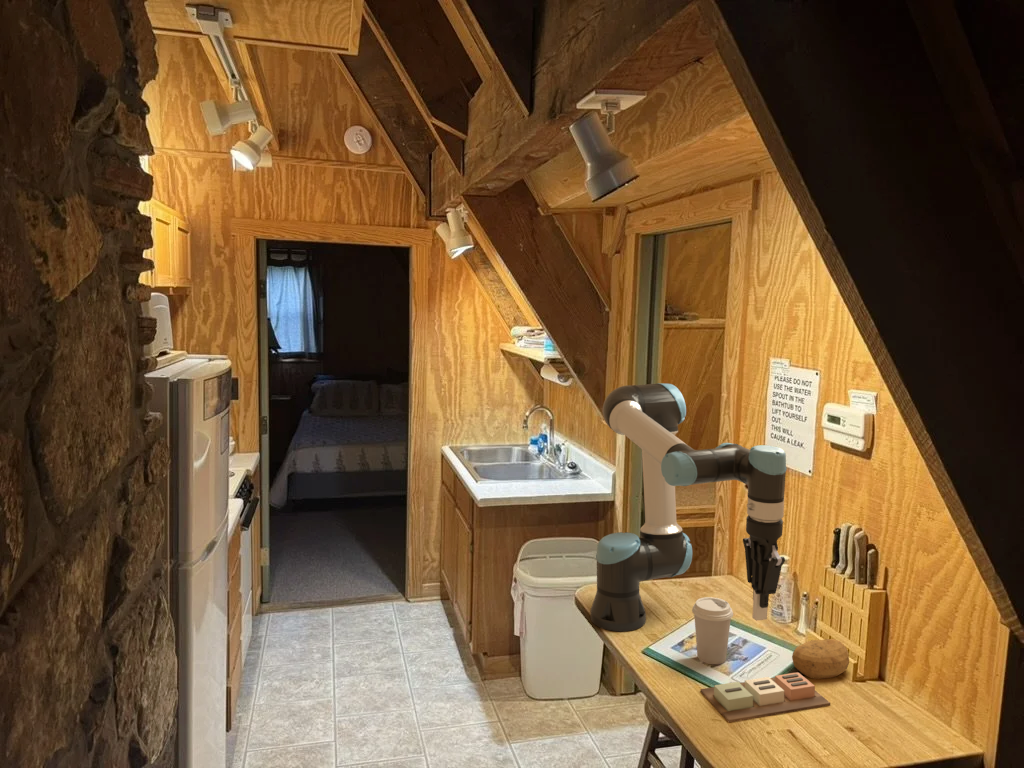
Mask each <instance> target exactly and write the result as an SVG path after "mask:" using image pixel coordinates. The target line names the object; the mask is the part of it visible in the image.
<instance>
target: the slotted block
mask: <svg viewBox="0 0 1024 768" xmlns="http://www.w3.org/2000/svg"><path fill="white" fill-rule="evenodd" d="M740 683H741V682H739V681H734V682H727V683H722V684H714V686H713V687H714V698H715V699H716V700H717V701H718V702H719V703H720V704H721V705H722V706H723V707H724V708H725V709H726V710H727V711H733V710H739V709H745V708H751V707H753V695H752V694H751V693H749V692H748V691H747V690H746V689H745V688H744V687H743V686H742V685H741V684H740Z"/></svg>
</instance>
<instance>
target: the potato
mask: <svg viewBox="0 0 1024 768" xmlns="http://www.w3.org/2000/svg"><path fill="white" fill-rule="evenodd" d="M849 656H850V655H849V650H848V649H847V647H846V646H845V645H844V644H843V643H842V642H841V641H839V640H837V639H834V638H827V639H820V640H819V639H818V640H816V639H815V640H814V639H812V640H808V641H805V642H803V643H802V644H800V645H798V646H796V648H795V649H794V650H793V651H792V656H791V658H792V660H791V661H792V663H793V666H794V667H795V668H796V669H797V671H799V673H800V674H801V675H802V674H803V675H804V676H806V677H808V678H810V679H830V678H835V677H838V676H840V675H841V674H842V673H844V672H846V670H848V667H849V665H850V657H849Z"/></svg>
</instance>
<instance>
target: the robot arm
mask: <svg viewBox="0 0 1024 768" xmlns="http://www.w3.org/2000/svg"><path fill="white" fill-rule="evenodd" d="M686 405H687V404H686V402H685V398H684V396H683V394H682V391H680V389H679V388H678V387H677V386H675V385H674V384H672V383H659V382H658V383H649V384H635V385H634V384H633V385H629V384H627V385H622V386H619V387H617V388H614V389H613V390H612V391H611V392H610V393H609V394H608V395H607V396H606V398H605V400H604V401H603V405H602V416H603V420H604V422H605V424H606V425H607V426H608V428H610V429H611V431H613V432H615V433H616V434H618V435H622V436H623V435H624V436H625V437H627V439H629V440H630V441H631V442H632V443H634V444H635V445H636V446H638V447H639V448H640V449H641V454H642V455H641V456H642V457H641V458H642V475H643V477H642V479H643V480H642V481H643V497H644V498H643V499H644V500H643V501H644V520H645V522H644V524H643V525H642V526H641V527H640V529H639V531H640V533H639V534H640V535H639V536H640V537H639V536H638V535H637V534H635V533H633V532H626V531H625V532H622V531H620V532H614V533H613V532H612V533H610V534H607V535H605V536H603V537H602V538H601V539H600V540H599V541H598V542H597V546H596V554H595V555H596V556H595V559H596V592H595V593H596V594H595V596H594V599H593V602H592V606H591V608H590V621H591V622H592V623H593V625H595V626H596V627H599V628H601V629H603V630H607V631H610V632H611V631H612V632H629V631H631V632H632V631H634V630H638V629H640V628H642V627H643V626H645V624H646V621H647V619H646V617H647V614H646V609H645V606H644V603H643V600H642V598H641V594H640V582H643V581H651V580H657V579H663V578H673V577H676V576H679V575H682V574H684V573H686V572H687V571H688V570H689V569H690V567H691V564H692V561H693V547H692V543H690V542H691V540H690V537H689V536H688V535H687V534H686V533H684V532H683V527H682V526H681V525H680V524H678V522H677V505H676V504H677V503H676V487H677V486H679V487H687V486H691V485H701V484H710V483H717V482H719V483H720V482H725V481H726V482H729V481H738V482H741V483H743V484H745V485H747V504H746V513H747V516H746V523H745V526H746V527H745V532H746V533H747V535H749V537H746V538H743V539H742V543H743V547H744V553H745V554H744V555H745V567H746V568H745V569H746V577H747V578H746V579H747V583H748V584H751V588H752V589H753V592H752V616H751V617H752V619H754V620H755V621H756V622H757V621H765V620H766V621H767V620H768V607H769V599H770V598H769V597H770V595H774V594H776V593H777V588H778V584H779V580H780V575H781V572H782V567H783V565H784V564H785V562H786V558H785V556H780V554H779V552H778V550H779V547H778V540H779V539H780V538H781V537H782V536H783V531H784V530H783V528H784V526H783V525H784V521H783V518H784V516H785V515H784V512H785V510H784V509H785V490H786V489H785V488H786V475H787V469H788V468H787V455H786V451H785V450H784V449H783V448H781V447H779V446H774V445H773V446H772V445H770V444H769V445H767V444H766V445H765V444H761V445H758V444H757V445H754V446H752V447H751V448H750V449H749V448H746V447H745V446H742V445H741V444H737V443H730V442H723V443H721V444H719V445H718V446H716V447H715V448H705V449H694V448H692V447H691V446H690V445H688V444H687V443H685V442H684V441H683V440H682V439H680V438H679V437H678V436H676V435H677V434H678V433H679V425H680V424H681V423H683V422H684V421H685V417H686V416H687V406H686Z"/></svg>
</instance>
